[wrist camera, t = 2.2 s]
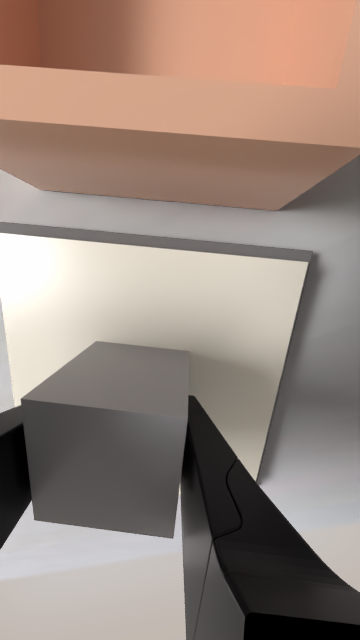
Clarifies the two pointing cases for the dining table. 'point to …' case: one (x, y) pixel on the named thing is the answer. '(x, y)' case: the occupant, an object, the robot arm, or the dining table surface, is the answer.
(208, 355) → the lid
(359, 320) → the dining table surface
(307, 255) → the mat
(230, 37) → the dish
